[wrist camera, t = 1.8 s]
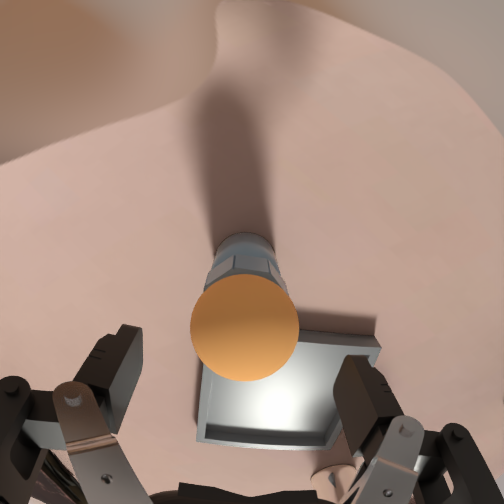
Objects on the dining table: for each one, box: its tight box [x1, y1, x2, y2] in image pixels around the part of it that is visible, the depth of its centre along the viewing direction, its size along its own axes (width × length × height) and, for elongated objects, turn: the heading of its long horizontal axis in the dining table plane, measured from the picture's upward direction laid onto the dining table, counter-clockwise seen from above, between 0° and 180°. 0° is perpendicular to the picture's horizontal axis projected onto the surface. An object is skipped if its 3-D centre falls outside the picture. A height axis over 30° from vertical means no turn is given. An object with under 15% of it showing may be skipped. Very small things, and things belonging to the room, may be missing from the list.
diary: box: [31, 450, 88, 504], centre depth 31 cm, size 19×25×5 cm
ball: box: [190, 274, 299, 381], centre depth 14 cm, size 5×5×5 cm
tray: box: [196, 330, 382, 450], centre depth 26 cm, size 14×14×2 cm
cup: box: [203, 232, 289, 296], centre depth 19 cm, size 4×4×7 cm
